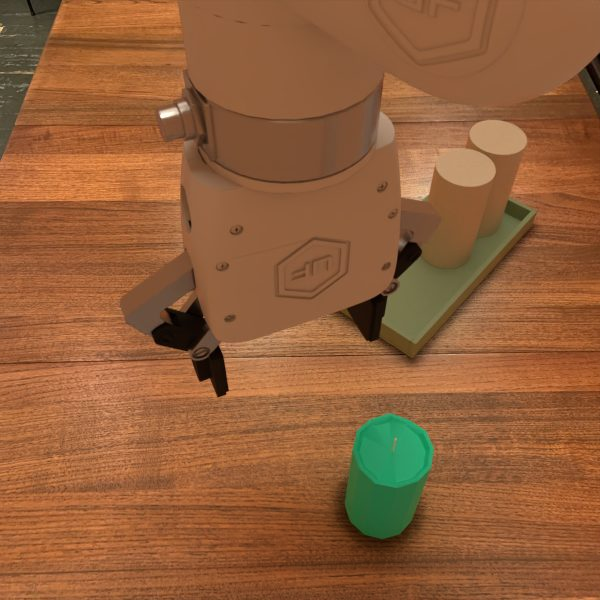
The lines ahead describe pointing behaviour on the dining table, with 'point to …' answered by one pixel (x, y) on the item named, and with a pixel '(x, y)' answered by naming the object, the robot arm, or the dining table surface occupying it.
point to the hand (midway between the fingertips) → (290, 349)
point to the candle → (387, 475)
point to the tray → (446, 284)
